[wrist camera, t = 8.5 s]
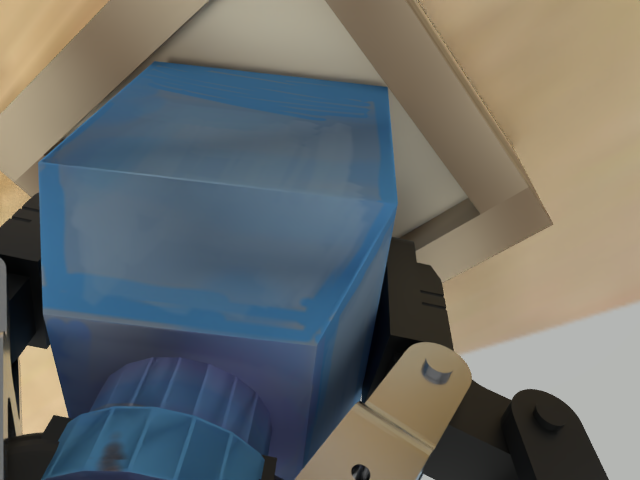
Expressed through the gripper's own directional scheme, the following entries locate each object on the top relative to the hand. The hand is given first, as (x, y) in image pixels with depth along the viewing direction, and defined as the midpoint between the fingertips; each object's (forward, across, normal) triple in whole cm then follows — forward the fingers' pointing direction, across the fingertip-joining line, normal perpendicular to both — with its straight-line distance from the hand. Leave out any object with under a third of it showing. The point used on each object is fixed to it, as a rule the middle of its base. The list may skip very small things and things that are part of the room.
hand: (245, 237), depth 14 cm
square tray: (+8, 0, 0) cm, 8 cm away
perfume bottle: (+3, 0, 0) cm, 3 cm away
